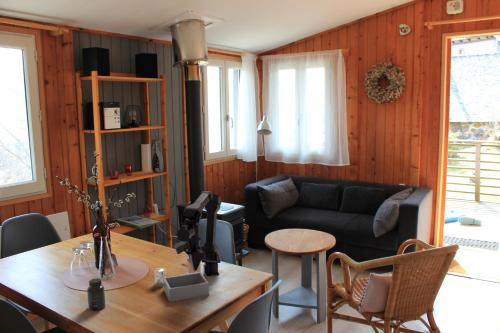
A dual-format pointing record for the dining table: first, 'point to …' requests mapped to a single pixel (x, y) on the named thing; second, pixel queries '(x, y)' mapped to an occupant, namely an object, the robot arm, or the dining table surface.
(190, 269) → the terracotta cube
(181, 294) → the tote
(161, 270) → the aluminium cylinder
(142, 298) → the dining table surface
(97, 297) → the supplement bottle
